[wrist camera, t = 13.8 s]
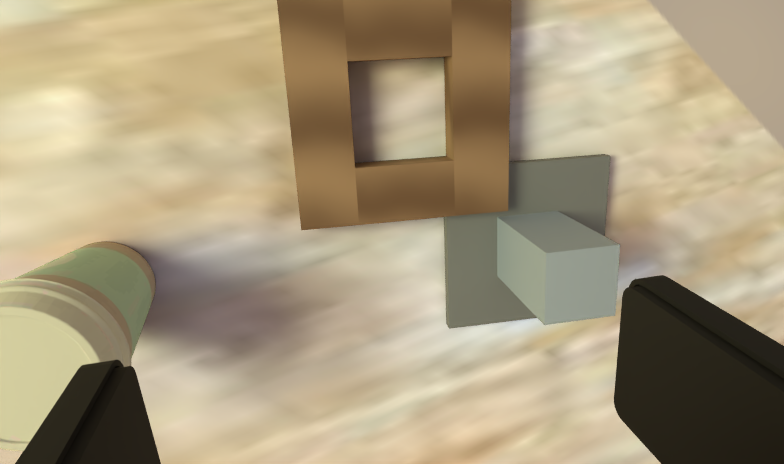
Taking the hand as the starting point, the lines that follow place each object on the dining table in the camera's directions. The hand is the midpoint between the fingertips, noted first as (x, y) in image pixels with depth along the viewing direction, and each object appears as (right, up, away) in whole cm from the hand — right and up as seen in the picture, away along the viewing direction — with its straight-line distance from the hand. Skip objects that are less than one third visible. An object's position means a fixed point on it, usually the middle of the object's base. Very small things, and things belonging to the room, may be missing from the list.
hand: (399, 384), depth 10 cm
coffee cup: (-19, 0, +25) cm, 32 cm away
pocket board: (0, +11, +25) cm, 27 cm away
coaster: (+10, +2, +29) cm, 31 cm away
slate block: (+10, +2, +28) cm, 30 cm away
